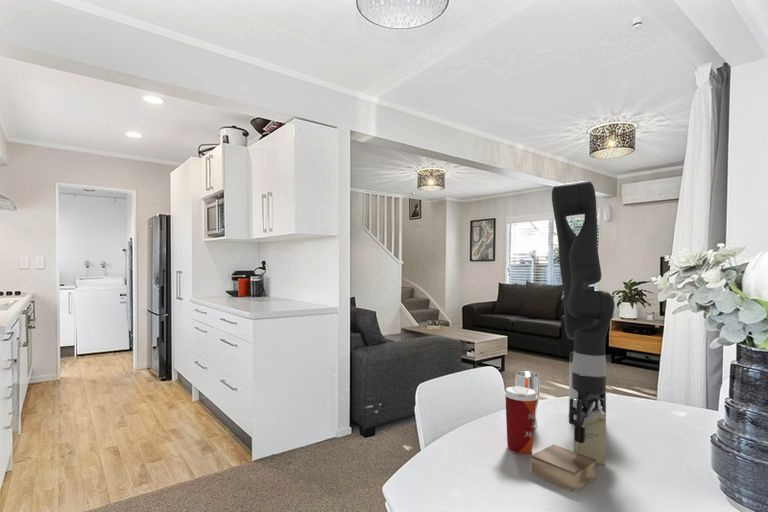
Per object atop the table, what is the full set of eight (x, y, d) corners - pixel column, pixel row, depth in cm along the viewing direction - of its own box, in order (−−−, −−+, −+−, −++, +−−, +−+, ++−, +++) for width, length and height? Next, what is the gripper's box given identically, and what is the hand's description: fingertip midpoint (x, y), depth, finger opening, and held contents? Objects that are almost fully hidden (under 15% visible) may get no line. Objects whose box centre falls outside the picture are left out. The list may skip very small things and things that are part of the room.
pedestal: (553, 460, 103) (553, 444, 103) (595, 477, 95) (595, 459, 95) (530, 473, 97) (531, 455, 97) (574, 491, 89) (574, 472, 89)
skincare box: (578, 462, 103) (578, 411, 103) (573, 454, 107) (573, 405, 107) (606, 464, 102) (606, 413, 102) (599, 456, 106) (600, 407, 106)
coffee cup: (538, 457, 104) (540, 396, 105) (504, 453, 106) (505, 393, 106) (534, 443, 113) (535, 387, 113) (501, 440, 114) (503, 384, 115)
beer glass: (510, 424, 126) (511, 373, 126) (520, 418, 131) (521, 369, 131) (532, 431, 121) (533, 378, 122) (542, 424, 126) (543, 374, 127)
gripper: (587, 365, 112) (586, 427, 112) (559, 371, 103) (558, 439, 103) (617, 371, 106) (616, 436, 106) (590, 378, 97) (589, 450, 97)
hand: (587, 437), depth 104 cm, fingers open, 8 cm apart
